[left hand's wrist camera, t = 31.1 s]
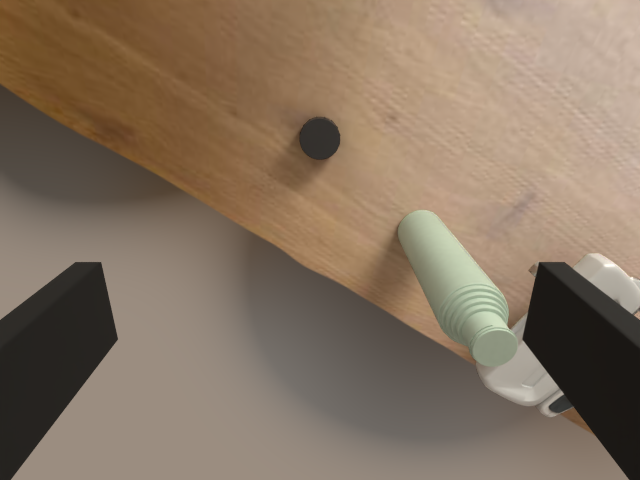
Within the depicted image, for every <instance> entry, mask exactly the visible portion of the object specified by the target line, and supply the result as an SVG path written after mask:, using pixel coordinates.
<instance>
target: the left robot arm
mask: <svg viewBox="0 0 640 480" xmlns="http://www.w3.org/2000/svg"><path fill="white" fill-rule="evenodd" d="M117 340H118V337H117V333H116V328H115V324H114V319H113V315H112V310H111V305H110V301H109V296H108V292H107V287H106V283H105V278H104V273H103V269H102V264H101V262H75V263H74V264H73V265H71V266H70V267H69V268H67V269H66V270H65V271H63V272H62V273H61V274H60V275H58V276H57V277H56V278H54V279H53V280H52V281H50V282H49V283H48V284H47V285H45V286H44V287H43V288H41V289H40V290H39V291H37V292H36V293H35V294H34V295H32V296H31V297H30V298H28V299H27V300H26V301H24V302H23V303H22V304H20V305H19V306H18V307H17V308H15V309H14V310H13V311H11V312H10V313H9V314H7V315H6V316H5V317H4V318H2V319H1V320H0V480H11V479H12V477H13V476H14V475H15V473H16V472H17V471H18V469H19V468H20V467H21V466H22V464H23V463H24V462H25V460H26V459H27V458H28V456H29V455H30V454H31V452H32V451H33V450H34V449H35V447H36V446H37V445H38V443H39V442H40V441H41V439H42V438H43V437H44V435H45V434H46V433H47V431H48V430H49V429H50V428H51V426H52V425H53V424H54V422H55V421H56V420H57V418H58V417H59V416H60V414H61V413H62V412H63V411H64V409H65V408H66V407H67V405H68V404H69V403H70V401H71V400H72V399H73V397H74V396H75V395H76V394H77V392H78V391H79V390H80V388H81V387H82V386H83V384H84V383H85V382H86V380H87V379H88V378H89V376H90V375H91V374H92V373H93V371H94V370H95V369H96V367H97V366H98V365H99V363H100V362H101V361H102V359H103V358H104V357H105V356H106V354H107V353H108V352H109V350H110V349H111V348H112V346H113V345H114V344H115V342H116V341H117ZM522 340H523V341H524V342H525V344H526V345H527V346H528V348H529V349H530V350H531V352H532V353H533V354H534V356H535V357H536V358H537V359H538V361H539V362H540V363H541V365H542V366H543V367H544V369H545V370H546V371H547V373H548V374H549V375H550V377H551V378H552V379H553V380H554V382H555V383H556V384H557V386H558V387H559V388H560V390H561V391H562V392H563V394H564V395H565V396H566V397H567V399H568V400H569V401H570V403H571V404H572V405H573V407H574V408H575V409H576V411H577V412H578V413H579V414H580V416H581V417H582V418H583V420H584V421H585V422H586V424H587V425H588V426H589V428H590V429H591V430H592V432H593V433H594V434H595V435H596V437H597V438H598V439H599V441H600V442H601V443H602V445H603V446H604V447H605V449H606V450H607V451H608V452H609V454H610V455H611V456H612V458H613V459H614V460H615V462H616V463H617V464H618V466H619V467H620V468H621V469H622V471H623V472H624V473H625V475H626V476H627V477H628V479H629V480H640V320H639V319H638V318H636V317H635V316H634V315H633V314H631V313H630V312H629V311H627V310H626V309H625V308H623V307H622V306H621V305H620V304H618V303H617V302H616V301H614V300H613V299H612V298H610V297H609V296H608V295H607V294H605V293H604V292H603V291H601V290H600V289H599V288H597V287H596V286H595V285H593V284H592V283H591V282H590V281H588V280H587V279H586V278H584V277H583V276H582V275H580V274H579V273H578V272H577V271H575V270H574V269H573V268H571V267H570V266H569V265H567V264H566V263H565V262H539V264H538V269H537V273H536V278H535V282H534V287H533V292H532V296H531V301H530V305H529V310H528V314H527V319H526V324H525V328H524V333H523V337H522Z"/></svg>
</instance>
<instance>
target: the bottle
mask: <svg viewBox="0 0 640 480" xmlns="http://www.w3.org/2000/svg"><path fill="white" fill-rule="evenodd" d="M398 239H399V241H400V243H401V245H402V247H403V250H404V252H405V254H406V256H407V258H408V260H409V262H410V264H411V266H412V268H413V270H414V273H415V275H416V277H417V279H418V281H419V283H420V285H421V287H422V289H423V291H424V294H425V296H426V298H427V300H428V302H429V304H430V306H431V308H432V310H433V312H434V314H435V317H436V319H437V321H438V323H439V325H440V327H441V329H442V330H443V332H444V333H445V334H446V335H447V336H448V337H449V338H451V339H452V340H453V341H455V342H457V343H460V344H463V345H465V346H468V348H469V351H470V354H471V356H472V357H473V358H474V359H475V360H476V361H477V362H478V363H480V364H481V365H484V366H488V367H496V366H500V365H503V364H505V363H507V362H508V361H510V360H511V359H512V358H513V357H514V355H515V354H516V351H517V348H518V341H517V337H516V336H515V334H514V333H513V332H512V331H511V330H510V329H509V328H508V327H507V323H508V316H509V309H508V305H507V302H506V299H505V297H504V296H503V294H502V293H501V292H500V290H499V289H498V288H497V287H496V286H495V284H494V283H493V282H492V281H491V280H490V278H489V277H488V276H487V275H486V274H485V272H484V271H483V270H482V269H481V268H480V266H479V265H478V264H477V263H476V262H475V260H474V259H473V258H472V257H471V256H470V254H469V253H468V252H467V251H466V250H465V248H464V247H463V246H462V245H461V244H460V242H459V241H458V240H457V239H456V238H455V236H454V235H453V234H452V233H451V232H450V230H449V229H448V228H447V227H446V226H445V224H444V223H443V222H442V221H441V220H440V218H439V217H438V216H437V215H436V214H434V213H433V212H431V211H427V210H417V211H414V212H411V213H410V214H408V215H407V216H405V217H404V218H403V220H402V221H401V223H400V224H399V227H398Z"/></svg>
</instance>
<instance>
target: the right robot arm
mask: <svg viewBox="0 0 640 480" xmlns="http://www.w3.org/2000/svg"><path fill="white" fill-rule="evenodd" d="M538 264H539V261H537V262H536V263H535V264H534V265H533V266H532V267H531V268H530V269H529V270H528V271H529V272H531V274H532V275H534V276H535V277H536V273H537V269H538ZM573 269H574V270H575V271H577V272H578V273H579V274H580V275H582V276H583V277H584V278H586V279H587V280H588V281H590V282H591V283H592V284H593V285H595V286H596V287H597V288H599V289H600V290H601V291H603V292H604V293H605V294H607V295H608V296H609V297H610V298H612V299H613V300H614V301H616V302H617V303H618V304H620V305H621V306H622V307H623V308H625V309H626V310H627V311H629V312H630V313H631V314H633V315H635V314H636V313H637V312H638V311H640V279H638V278H636V277H629V276H628V275H627V274H626V273H625V272H624V271H623V270H622V269H621V268H620V267H619V266H617V265H616V264H615V263H613V262H612V261H610V260H609V259H607V258H606V257H604V256H603V255H601V254H599V253H593V254H587V255H585V256H584V257H583V258H582V259H581V260H580V261H579V262H578V263H577V264H576V265H575V266H574V267H573ZM527 314H528V312H527V313H526V314H525V315H524V316H523V317H522V318H521V319H520V320H519V321H518V322H517V323H516V324H515V325H513V326H512V327H511V328H510V330H511V331H512V332H513V333H514V334H515V336H516V337H517V341H518V348H517V351H516V354H515V355H514V357H513V358H512V359H511V360H510V361H508V362H507V363H505V364H503V365H500V366H496V367H488V366H484V365H481V364H480V363H478V362H476V370H477V373H478V375H479V377H480V379H481V381H482V382H483V384H484V385H485V386H486V387H487V388H488V389H489V390H491V391H492V392H494V393H496V394H497V395H499V396H501V397H503V398H505V399H507V400H509V401H511V402H514V403H516V404H519V405H522V406H535V407H536V408H537V409H538V410H539V411H540V412H541V413H542V414H543V415H544V416H546V417H554V416H557V415H559V414H561V413H563V412H565V411H567V410H569V409H571V408H573V405H572V404H571V403H570V401H569V400H568V399H567V397H566V396H565V395H564V394H563V392H562V391H561V390H560V388H559V387H558V386H557V384H556V383H555V382H554V380H553V379H552V378H551V377H550V375H549V374H548V373H547V371H546V370H545V369H544V367H543V366H542V365H541V363H540V362H539V361H538V359H537V358H536V357H535V356H534V354H533V353H532V352H531V350H530V349H529V348H528V346H527V345H526V344H525V342H524V341H523V340H522V337H523V333H524V328H525V324H526V319H527Z"/></svg>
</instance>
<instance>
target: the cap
mask: <svg viewBox="0 0 640 480" xmlns="http://www.w3.org/2000/svg"><path fill="white" fill-rule="evenodd" d="M300 144H301V147H302V150H303V151H304V152H305V153H306V154H307V155H308V156H309V157H311V158H314V159H326V158H329V157H330V156H332V155H333V154H334V153H335V152H336V151H337V149H338V147H339V144H340V134H339V131H338V127H337V126H336V125H335V124H334V123H333V122H332V120H329V119H327V118H325V117H315V118H312V119H309V121H308V122H306V123H305V125H303V128H302V131H301V132H300Z"/></svg>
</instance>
